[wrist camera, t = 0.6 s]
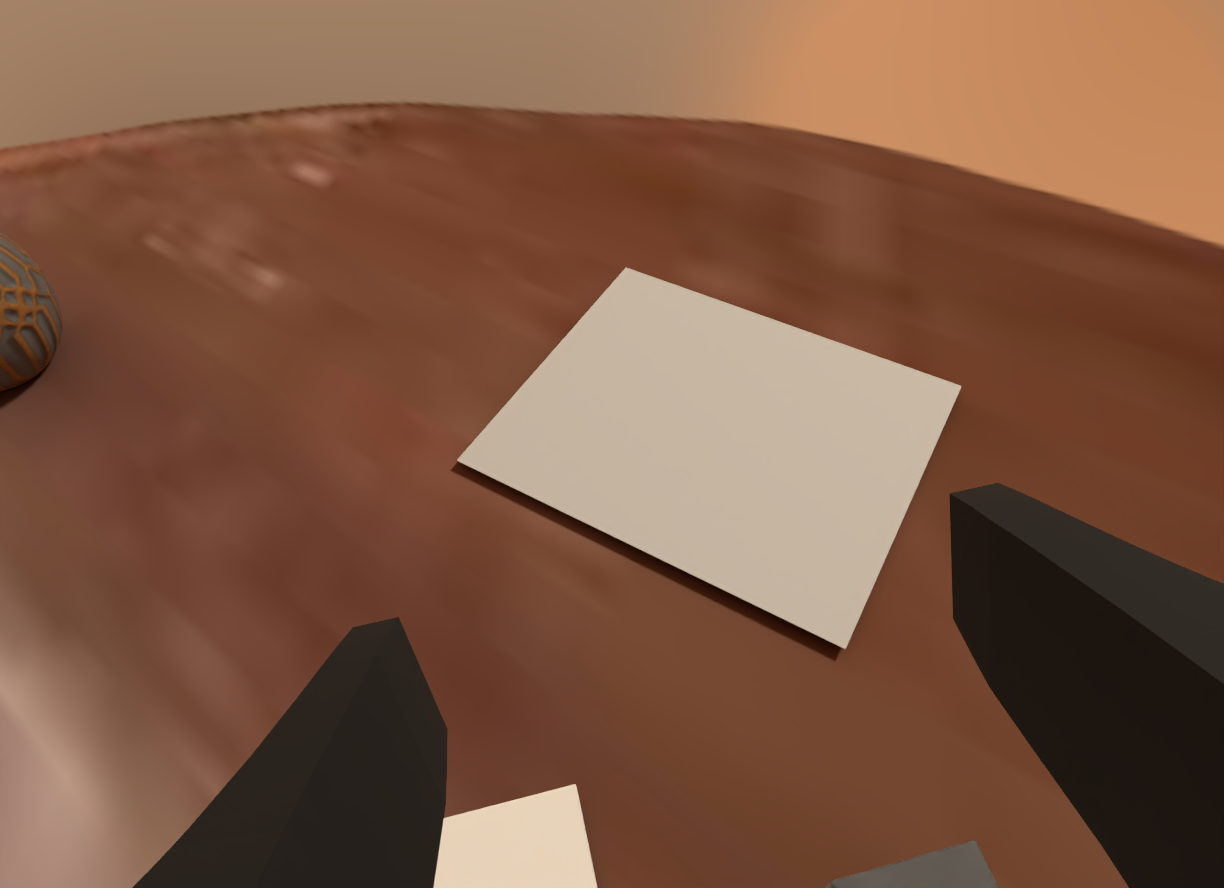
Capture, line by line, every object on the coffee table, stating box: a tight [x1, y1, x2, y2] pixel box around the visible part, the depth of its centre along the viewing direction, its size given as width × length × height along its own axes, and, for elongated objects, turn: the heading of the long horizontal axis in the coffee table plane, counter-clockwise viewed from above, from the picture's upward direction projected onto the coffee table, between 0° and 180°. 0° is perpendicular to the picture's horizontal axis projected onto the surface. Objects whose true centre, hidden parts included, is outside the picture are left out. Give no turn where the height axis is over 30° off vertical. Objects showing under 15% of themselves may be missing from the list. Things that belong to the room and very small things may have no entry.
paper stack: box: [457, 268, 961, 649], centre depth 36 cm, size 23×25×1 cm
